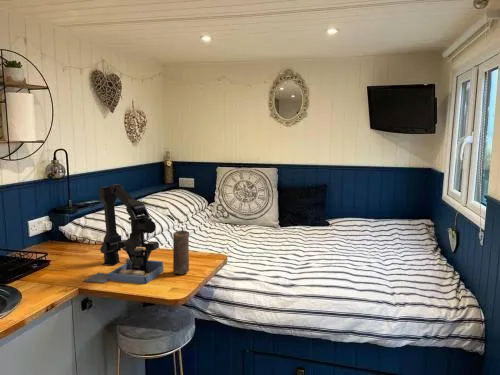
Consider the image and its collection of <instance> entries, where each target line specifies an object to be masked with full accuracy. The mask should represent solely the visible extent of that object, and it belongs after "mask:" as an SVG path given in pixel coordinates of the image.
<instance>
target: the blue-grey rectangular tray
mask: <svg viewBox="0 0 500 375" xmlns="http://www.w3.org/2000/svg"><path fill="white" fill-rule="evenodd" d="M125 261H126V262H125V263H123V265H121V266H119V267H117V268H115V269H114V270H112V271H110V272H108V279H109V281H112V282H113V281H114V282H124V283H133V284H144V285H146V284H148V283H150V282H151V281H152V280H154V279H155V278H157V277H158V276H160V275H161V274H162V273H164V261H163V260H162V261H161V260H149V259H148V261H147V263H146V266H147V272H149V273H148V274H145V276H137V275H127V274H119V271H121V270H123V269H124V270H132V266H131V260H130V258H125Z"/></svg>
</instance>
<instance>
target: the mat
mask: <svg viewBox="0 0 500 375" xmlns="http://www.w3.org/2000/svg"><path fill="white" fill-rule="evenodd" d="M108 273H109V272H108ZM108 273H106V272H105V273H104V272H97V273H95V274H93V275H91V276H89V277H87V278H86V279H84V280H83V281H84V282H85V283H86V282H87V283H97V284H105V283H107V282H109V281H110V280H109V279H108Z"/></svg>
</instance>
